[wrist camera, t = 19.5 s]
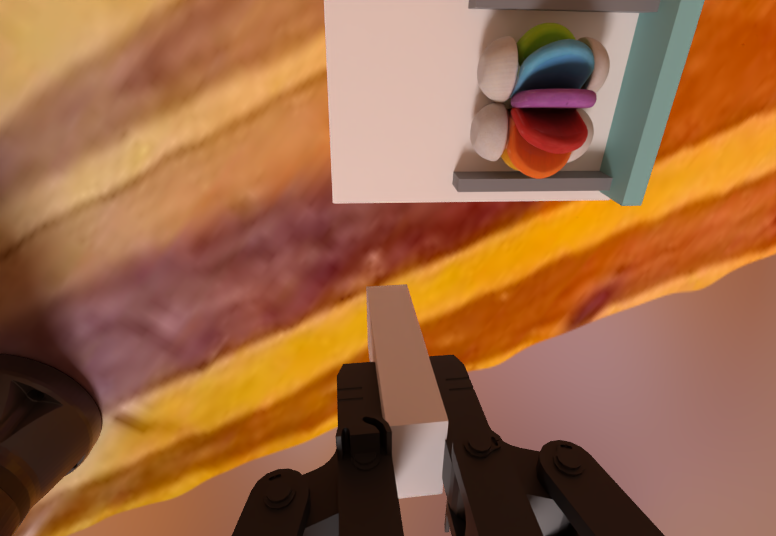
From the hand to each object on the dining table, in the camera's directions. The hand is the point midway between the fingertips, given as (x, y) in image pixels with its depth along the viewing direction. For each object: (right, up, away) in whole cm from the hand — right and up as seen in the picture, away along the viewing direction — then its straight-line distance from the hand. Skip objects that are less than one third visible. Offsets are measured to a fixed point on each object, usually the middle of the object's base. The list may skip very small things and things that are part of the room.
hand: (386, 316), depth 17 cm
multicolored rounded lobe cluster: (+10, +14, +16) cm, 24 cm away
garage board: (+7, +15, +16) cm, 23 cm away
